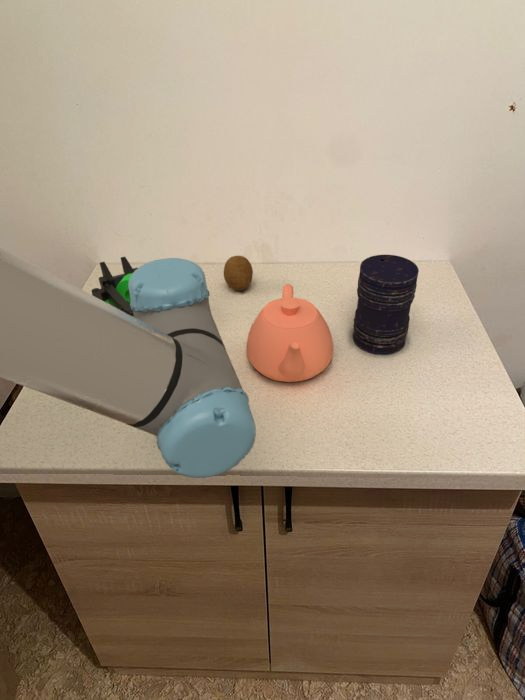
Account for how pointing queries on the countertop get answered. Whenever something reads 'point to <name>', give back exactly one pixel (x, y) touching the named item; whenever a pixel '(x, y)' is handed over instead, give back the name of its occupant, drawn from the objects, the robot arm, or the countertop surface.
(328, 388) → the countertop surface
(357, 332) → the dark blue cylinder
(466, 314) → the countertop surface
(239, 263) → the fruit
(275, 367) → the teapot
